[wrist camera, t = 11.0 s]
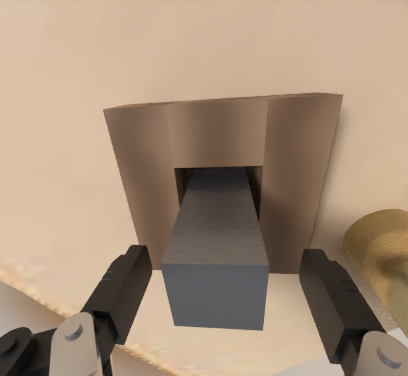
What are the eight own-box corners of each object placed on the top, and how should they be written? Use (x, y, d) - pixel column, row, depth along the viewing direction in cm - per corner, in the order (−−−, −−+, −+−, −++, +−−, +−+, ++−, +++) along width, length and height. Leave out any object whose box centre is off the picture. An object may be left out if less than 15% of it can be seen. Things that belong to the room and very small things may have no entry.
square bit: (243, 161, 17) (269, 265, 7) (242, 202, 19) (262, 330, 9) (196, 163, 17) (160, 263, 8) (200, 203, 19) (174, 325, 9)
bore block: (317, 92, 14) (343, 94, 11) (291, 245, 20) (303, 274, 17) (126, 104, 16) (102, 109, 13) (157, 243, 22) (146, 269, 19)
